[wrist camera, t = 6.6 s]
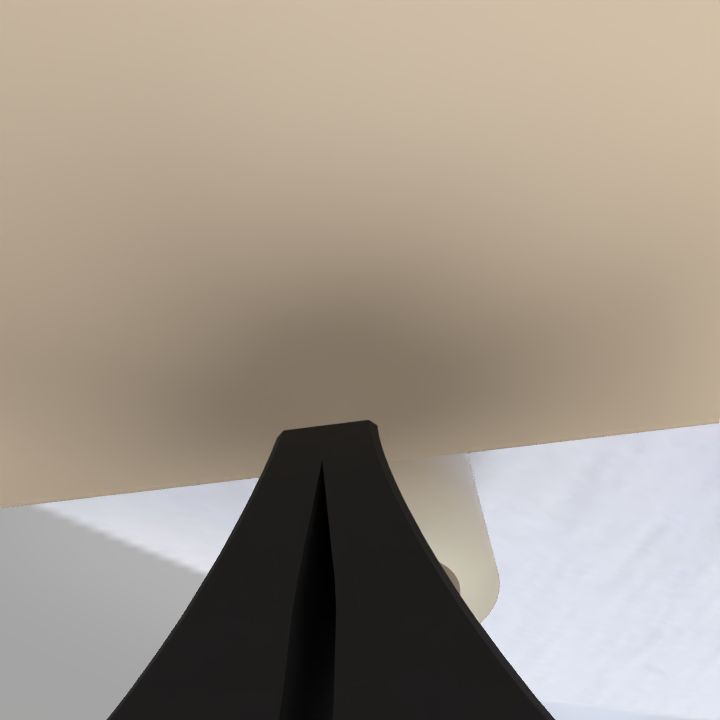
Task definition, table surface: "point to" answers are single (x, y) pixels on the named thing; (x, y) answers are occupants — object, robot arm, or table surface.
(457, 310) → the lid
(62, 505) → the table surface
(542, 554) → the table surface
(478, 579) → the beige hollow cylinder
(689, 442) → the table surface
